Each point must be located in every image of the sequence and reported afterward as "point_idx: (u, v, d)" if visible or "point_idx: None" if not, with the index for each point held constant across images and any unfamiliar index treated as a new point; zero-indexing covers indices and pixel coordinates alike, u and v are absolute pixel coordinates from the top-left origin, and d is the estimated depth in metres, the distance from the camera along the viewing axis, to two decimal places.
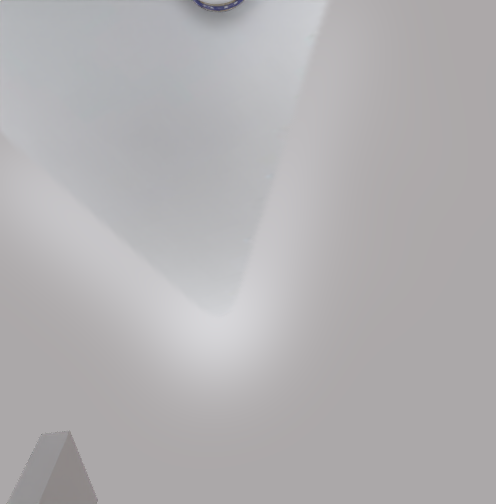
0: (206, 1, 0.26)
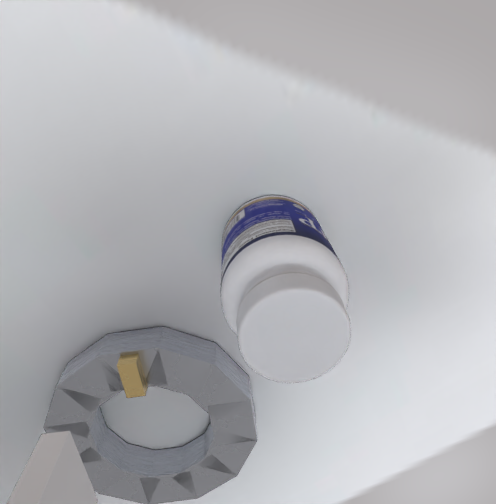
0: None
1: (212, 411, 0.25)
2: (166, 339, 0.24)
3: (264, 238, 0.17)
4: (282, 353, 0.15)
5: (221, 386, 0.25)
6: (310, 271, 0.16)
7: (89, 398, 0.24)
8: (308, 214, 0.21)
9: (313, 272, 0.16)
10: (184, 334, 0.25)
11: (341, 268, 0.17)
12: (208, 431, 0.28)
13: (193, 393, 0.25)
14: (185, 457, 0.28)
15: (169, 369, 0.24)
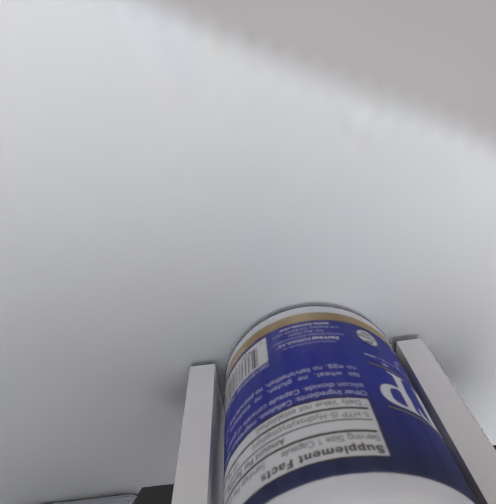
0: None
1: None
2: None
3: (322, 481, 0.07)
4: None
5: None
6: None
7: None
8: (386, 353, 0.11)
9: None
10: None
11: None
12: None
13: None
14: None
15: None
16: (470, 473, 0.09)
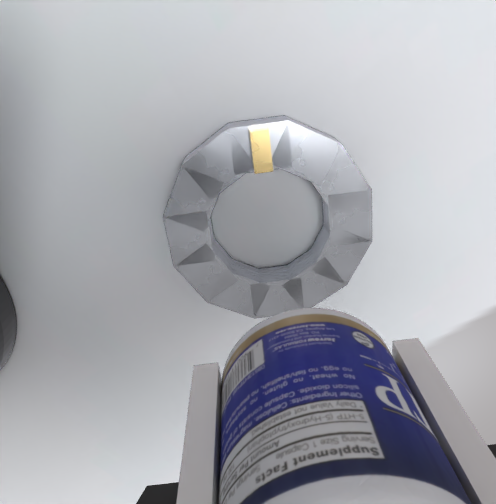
0: None
1: (332, 203, 0.25)
2: (291, 120, 0.24)
3: (317, 483, 0.07)
4: None
5: (344, 171, 0.24)
6: None
7: (212, 182, 0.24)
8: (382, 355, 0.11)
9: None
10: (304, 124, 0.25)
11: None
12: (317, 242, 0.28)
13: (315, 179, 0.25)
14: (293, 269, 0.28)
15: (295, 148, 0.24)
16: (464, 472, 0.09)
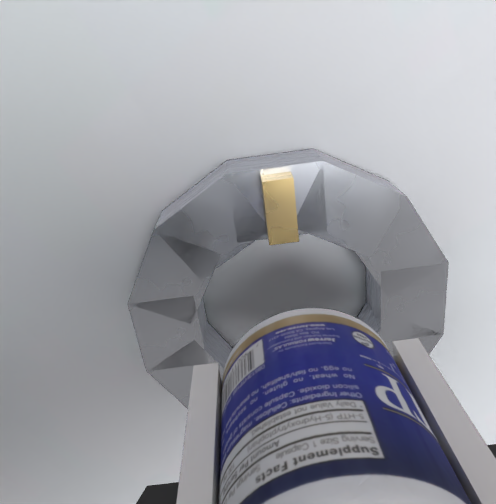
0: None
1: (386, 282, 0.16)
2: (327, 158, 0.15)
3: (317, 483, 0.07)
4: None
5: (409, 237, 0.16)
6: None
7: (202, 254, 0.16)
8: (381, 355, 0.11)
9: None
10: (344, 162, 0.16)
11: None
12: None
13: (363, 249, 0.16)
14: None
15: (334, 203, 0.15)
16: (464, 472, 0.09)
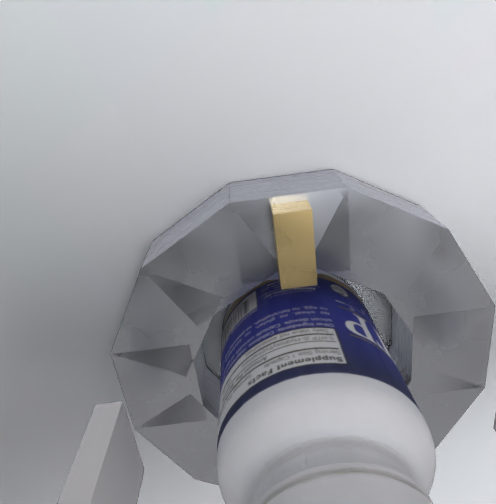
0: None
1: (420, 328, 0.14)
2: (350, 182, 0.13)
3: (293, 379, 0.10)
4: None
5: (449, 277, 0.13)
6: (377, 449, 0.09)
7: (199, 297, 0.13)
8: (354, 303, 0.14)
9: (382, 450, 0.09)
10: (370, 185, 0.14)
11: (426, 431, 0.10)
12: None
13: (393, 291, 0.13)
14: None
15: (359, 237, 0.12)
16: None
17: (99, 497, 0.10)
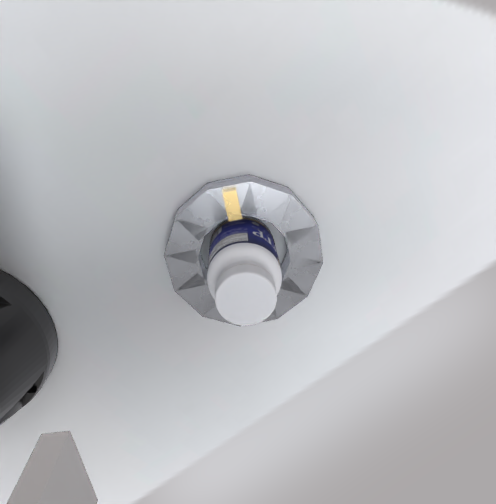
0: None
1: (289, 237, 0.34)
2: (254, 179, 0.32)
3: (229, 245, 0.30)
4: (240, 308, 0.28)
5: (296, 214, 0.33)
6: (255, 263, 0.29)
7: (198, 228, 0.33)
8: (261, 228, 0.33)
9: (257, 263, 0.29)
10: (265, 180, 0.34)
11: (274, 260, 0.30)
12: (283, 265, 0.36)
13: (275, 221, 0.33)
14: None
15: (258, 200, 0.32)
16: None
17: None
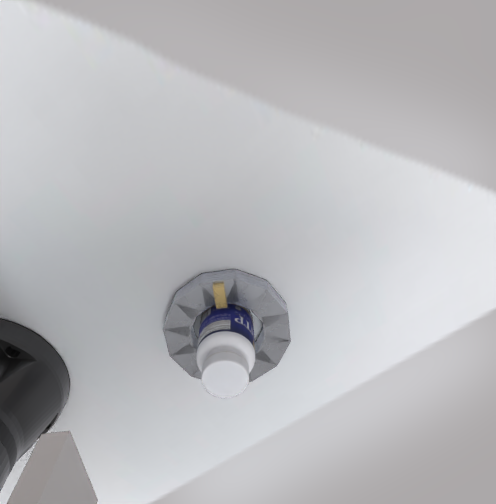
0: (253, 365, 0.39)
1: (264, 320, 0.42)
2: (238, 275, 0.41)
3: (215, 333, 0.38)
4: (220, 385, 0.36)
5: (270, 304, 0.41)
6: (234, 349, 0.37)
7: (192, 310, 0.41)
8: (242, 312, 0.42)
9: (235, 349, 0.37)
10: (248, 274, 0.42)
11: (250, 346, 0.38)
12: (259, 338, 0.45)
13: (253, 308, 0.41)
14: None
15: (240, 292, 0.41)
16: None
17: None
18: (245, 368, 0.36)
